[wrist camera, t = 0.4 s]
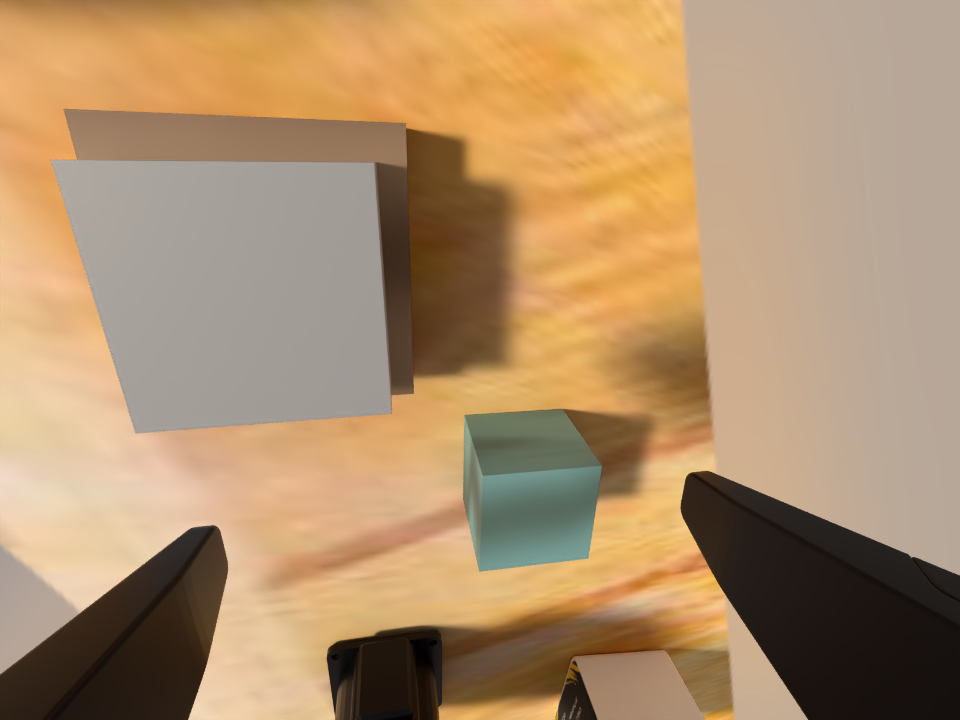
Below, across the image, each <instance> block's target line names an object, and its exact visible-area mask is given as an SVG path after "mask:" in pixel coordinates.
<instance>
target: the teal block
mask: <svg viewBox="0 0 960 720" xmlns="http://www.w3.org/2000/svg"><path fill="white" fill-rule="evenodd" d="M601 471H602V465H601V463H600V462H599V460H598V459H597V458H596V456H595V455H594V453H593V452H592V450H591V449H590V448H589V446H588V445H587V443H586V442H585V440H584V439H583V437H582V436H581V435H580V433H579V432H578V430H577V429H576V427H575V426H574V424H573V423H572V422H571V420H570V419H569V417H568V416H567V414H566V413H565V412H564V410H563V409H552V410H536V411H521V412H505V413H489V414H473V415H465V421H464V481H463V500H464V504H465V509H466V513H467V518H468V522H469V527H470V531H471V536H472V540H473V545H474V550H475V554H476V559H477V563H478V568H479V572H480V571H488V570H496V569H505V568H513V567H521V566H530V565H538V564H546V563H555V562H563V561H571V560H580V559H588V557H589V551H590V544H591V537H592V531H593V524H594V517H595V511H596V504H597V497H598V491H599V484H600V477H601Z"/></svg>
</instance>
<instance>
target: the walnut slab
mask: <svg viewBox="0 0 960 720" xmlns="http://www.w3.org/2000/svg"><path fill="white" fill-rule="evenodd" d="M64 112H65V116H66V120H67V123H68V127H69V131H70V134H71V138H72V142H73V145H74V149H75V153H76V156H77V160H181V161H294V162H376V165H377V179H378V194H379V208H380V223H381V237H382V252H383V266H384V281H385V295H386V310H387V324H388V339H389V354H390V368H391V395H401V394H414V383H413V349H412V315H411V282H410V248H409V214H408V180H407V146H406V123H388V122H364V121H340V120H316V119H292V118H268V117H244V116H221V115H197V114H173V113H149V112H125V111H101V110H77V109H64Z"/></svg>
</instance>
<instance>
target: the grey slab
mask: <svg viewBox="0 0 960 720" xmlns="http://www.w3.org/2000/svg"><path fill="white" fill-rule="evenodd" d="M51 162H52V166H53V169H54V172H55V175H56V178H57V182H58V185H59V188H60V191H61V195H62V198H63V201H64V204H65V207H66V211H67V214H68V217H69V220H70V224H71V227H72V230H73V233H74V236H75V240H76V243H77V246H78V249H79V252H80V256H81V259H82V262H83V265H84V269H85V272H86V275H87V278H88V281H89V285H90V288H91V291H92V294H93V298H94V301H95V304H96V307H97V310H98V314H99V317H100V320H101V323H102V327H103V330H104V333H105V336H106V339H107V343H108V346H109V349H110V352H111V356H112V359H113V362H114V365H115V368H116V372H117V375H118V378H119V381H120V385H121V388H122V391H123V394H124V397H125V401H126V404H127V407H128V410H129V414H130V417H131V420H132V423H133V426H134V430H135V433H147V432H160V431H173V430H186V429H199V428H212V427H225V426H238V425H252V424H265V423H278V422H291V421H304V420H317V419H330V418H343V417H356V416H369V415H382V414H392V401H391V368H390V354H389V339H388V324H387V310H386V295H385V281H384V266H383V252H382V237H381V223H380V208H379V194H378V179H377V165H376V162H294V161H181V160H51Z"/></svg>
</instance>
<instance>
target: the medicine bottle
mask: <svg viewBox="0 0 960 720" xmlns="http://www.w3.org/2000/svg"><path fill="white" fill-rule="evenodd" d="M553 720H705V718H704V717H703V715H702V713H701V711H700V710H699V708H698V706H697V704H696V702H695V701H694V699H693V697H692V695H691V694H690V692H689V690H688V688H687V687H686V685H685V683H684V681H683V679H682V678H681V676H680V674H679V672H678V671H677V669H676V667H675V665H674V664H673V662H672V660H671V658H670V656H669V655H668V653H667V652H666V651H664V650H654V651H640V652H626V653H612V654H598V655H584V656H574V657H573V658H572V660H571V663H570V666H569V670H568V673H567V676H566V679H565V683H564V686H563V689H562V692H561V696H560V699H559V702H558V705H557V709H556V712H555V715H554V718H553Z"/></svg>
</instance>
